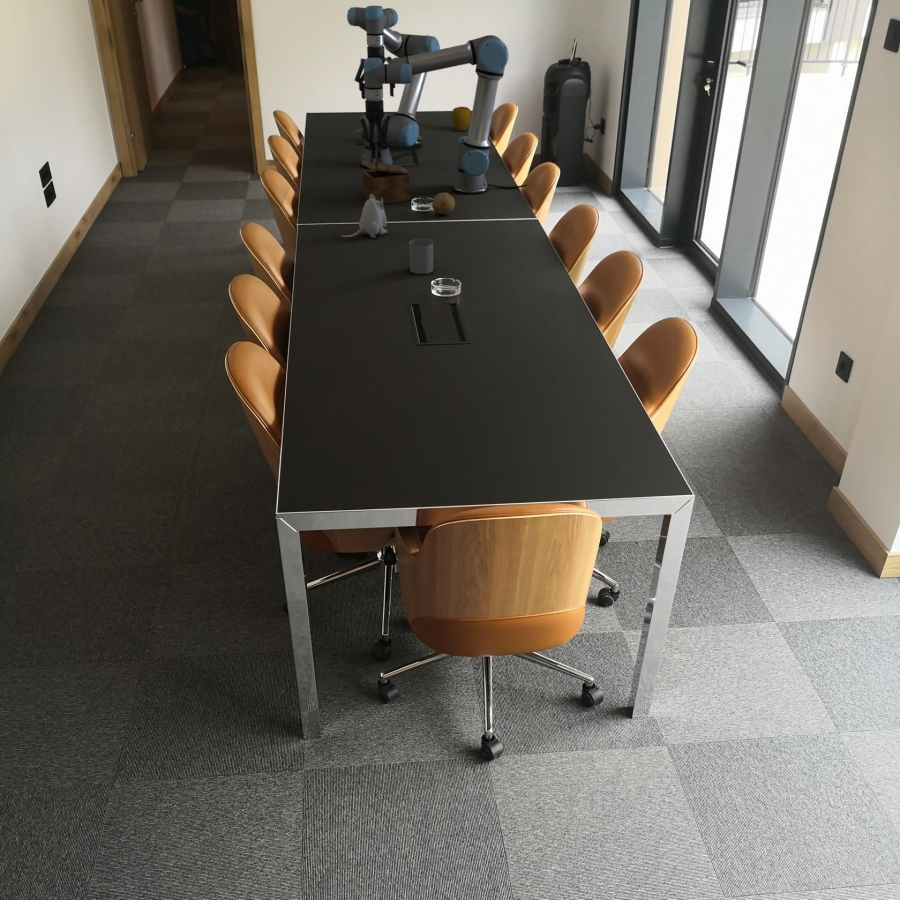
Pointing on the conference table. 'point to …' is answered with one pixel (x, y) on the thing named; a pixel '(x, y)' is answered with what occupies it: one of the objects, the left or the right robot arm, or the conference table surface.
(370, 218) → the toy
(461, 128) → the yellow bell pepper
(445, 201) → the potato
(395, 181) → the chest
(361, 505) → the conference table surface
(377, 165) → the lid
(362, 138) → the scepter
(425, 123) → the conference table surface
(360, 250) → the conference table surface
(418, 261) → the cup
